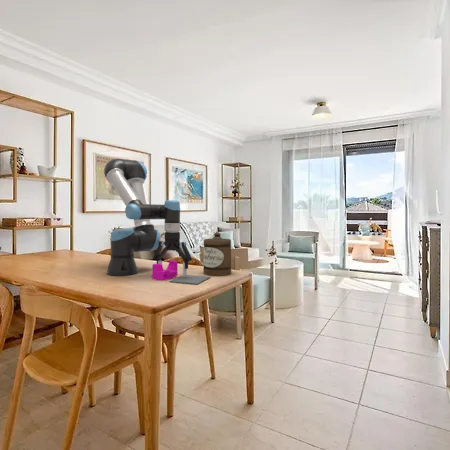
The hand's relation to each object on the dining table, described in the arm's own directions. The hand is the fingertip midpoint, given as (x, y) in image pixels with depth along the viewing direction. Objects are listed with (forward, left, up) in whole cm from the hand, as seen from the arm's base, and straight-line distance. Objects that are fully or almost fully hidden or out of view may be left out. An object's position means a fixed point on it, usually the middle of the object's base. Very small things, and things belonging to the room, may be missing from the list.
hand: (172, 274), depth 161 cm
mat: (+11, -2, -2) cm, 11 cm away
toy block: (-3, 0, -2) cm, 3 cm away
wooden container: (+17, +19, -2) cm, 26 cm away
